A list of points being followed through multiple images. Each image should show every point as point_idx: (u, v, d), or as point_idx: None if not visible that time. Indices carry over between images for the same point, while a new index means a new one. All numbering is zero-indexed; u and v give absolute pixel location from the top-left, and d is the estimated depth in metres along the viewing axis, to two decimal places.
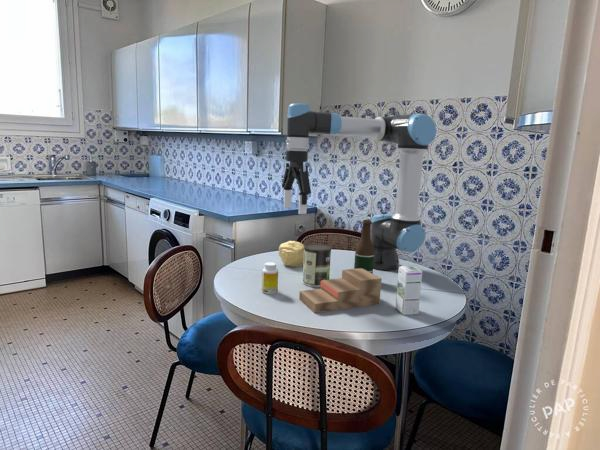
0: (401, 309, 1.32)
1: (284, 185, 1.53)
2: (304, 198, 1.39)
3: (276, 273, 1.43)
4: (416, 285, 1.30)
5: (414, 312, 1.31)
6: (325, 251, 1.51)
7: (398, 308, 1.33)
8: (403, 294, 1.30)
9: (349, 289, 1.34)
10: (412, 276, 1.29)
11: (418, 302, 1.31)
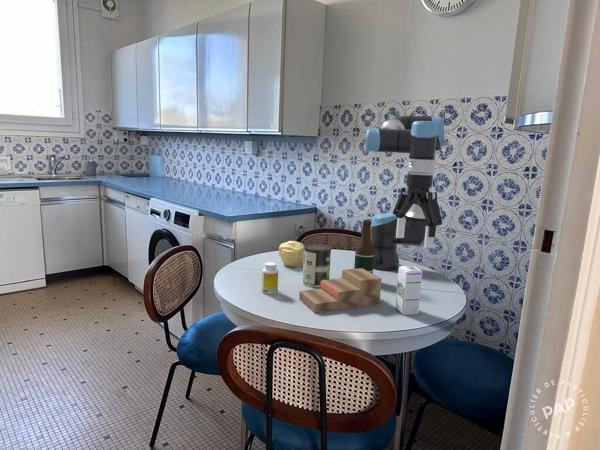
0: (401, 309, 1.32)
1: (397, 212, 1.34)
2: (433, 230, 1.21)
3: (276, 273, 1.43)
4: (416, 285, 1.30)
5: (414, 312, 1.31)
6: (325, 251, 1.51)
7: (398, 308, 1.33)
8: (403, 294, 1.30)
9: (349, 289, 1.34)
10: (412, 276, 1.29)
11: (418, 302, 1.31)
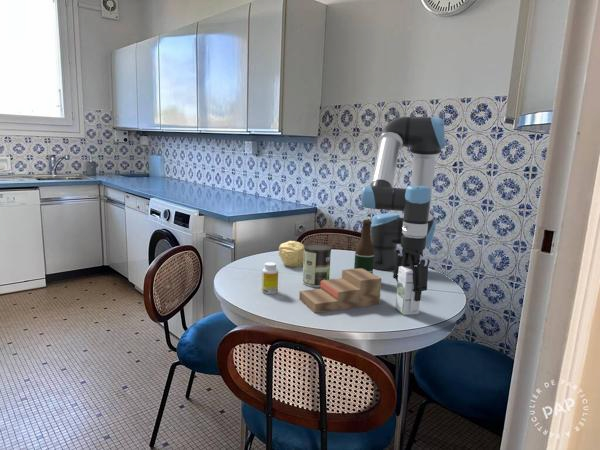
0: (401, 309, 1.32)
1: (397, 277, 1.36)
2: (418, 294, 1.28)
3: (276, 273, 1.43)
4: None
5: (414, 312, 1.31)
6: (325, 251, 1.51)
7: (398, 308, 1.33)
8: (403, 294, 1.30)
9: (349, 289, 1.34)
10: (412, 276, 1.29)
11: None
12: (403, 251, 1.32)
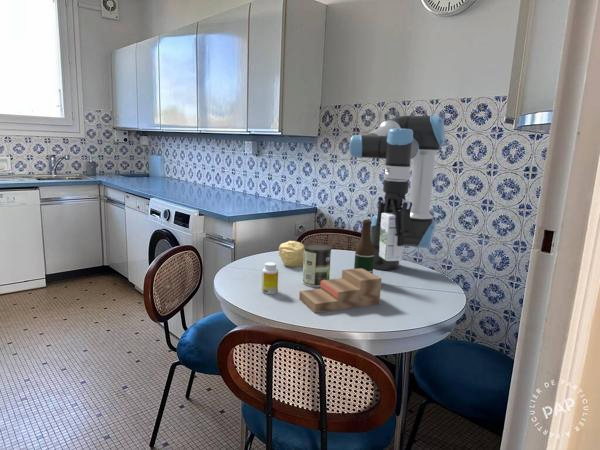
0: (384, 255, 1.30)
1: (380, 224, 1.34)
2: (401, 239, 1.27)
3: (276, 273, 1.43)
4: None
5: (397, 258, 1.30)
6: (325, 251, 1.51)
7: (381, 255, 1.32)
8: (386, 240, 1.28)
9: (349, 289, 1.34)
10: None
11: None
12: (386, 197, 1.31)
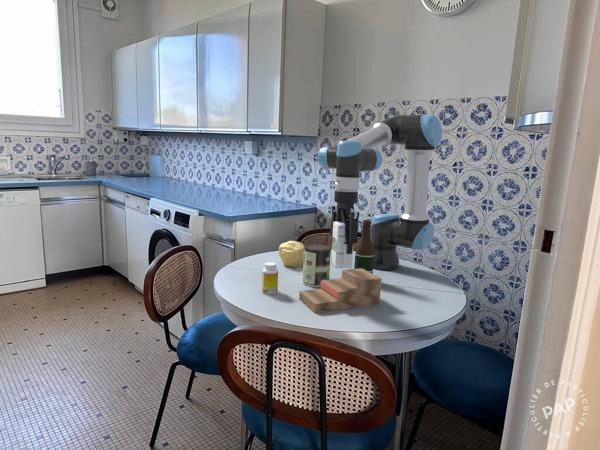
0: (334, 262, 1.35)
1: None
2: (350, 247, 1.31)
3: (276, 273, 1.43)
4: None
5: (347, 266, 1.34)
6: (325, 251, 1.51)
7: (333, 262, 1.37)
8: (336, 247, 1.33)
9: (349, 289, 1.34)
10: (344, 229, 1.32)
11: None
12: (337, 206, 1.36)
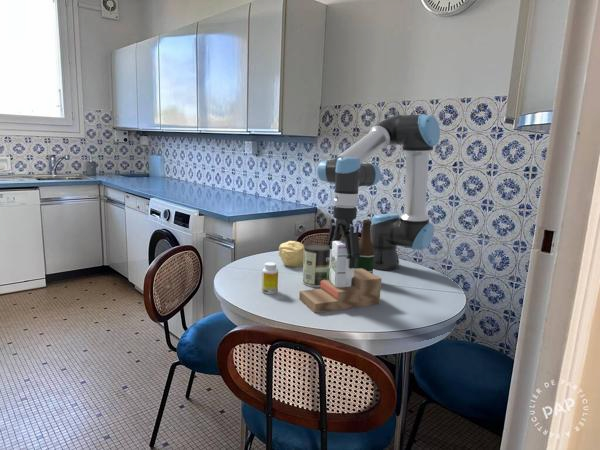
0: (334, 281, 1.36)
1: (330, 244, 1.41)
2: (352, 262, 1.30)
3: (276, 273, 1.43)
4: None
5: (346, 285, 1.36)
6: (325, 251, 1.51)
7: (332, 281, 1.38)
8: (335, 267, 1.34)
9: (349, 289, 1.34)
10: (343, 249, 1.33)
11: None
12: (336, 222, 1.37)
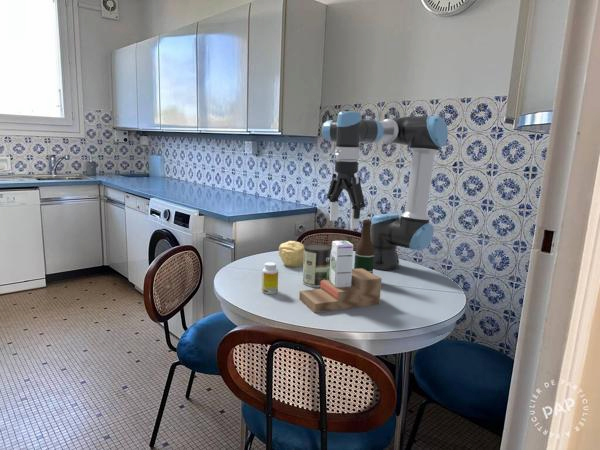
0: (334, 282, 1.36)
1: (330, 197, 1.44)
2: (357, 212, 1.31)
3: (276, 273, 1.43)
4: (348, 259, 1.34)
5: (346, 285, 1.36)
6: (325, 251, 1.51)
7: (332, 281, 1.38)
8: (335, 267, 1.34)
9: (349, 289, 1.34)
10: (343, 249, 1.33)
11: (350, 275, 1.36)
12: (338, 177, 1.39)
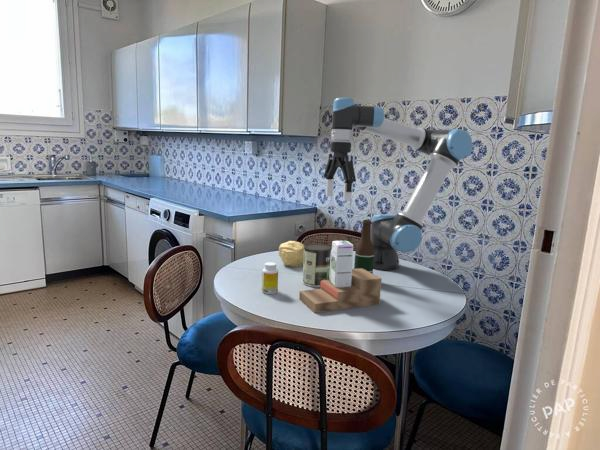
0: (334, 282, 1.36)
1: (327, 175, 1.63)
2: (349, 186, 1.50)
3: (276, 273, 1.43)
4: (348, 259, 1.34)
5: (346, 285, 1.36)
6: (325, 251, 1.51)
7: (332, 281, 1.38)
8: (335, 267, 1.34)
9: (349, 289, 1.34)
10: (343, 249, 1.33)
11: (350, 275, 1.36)
12: (333, 156, 1.57)
